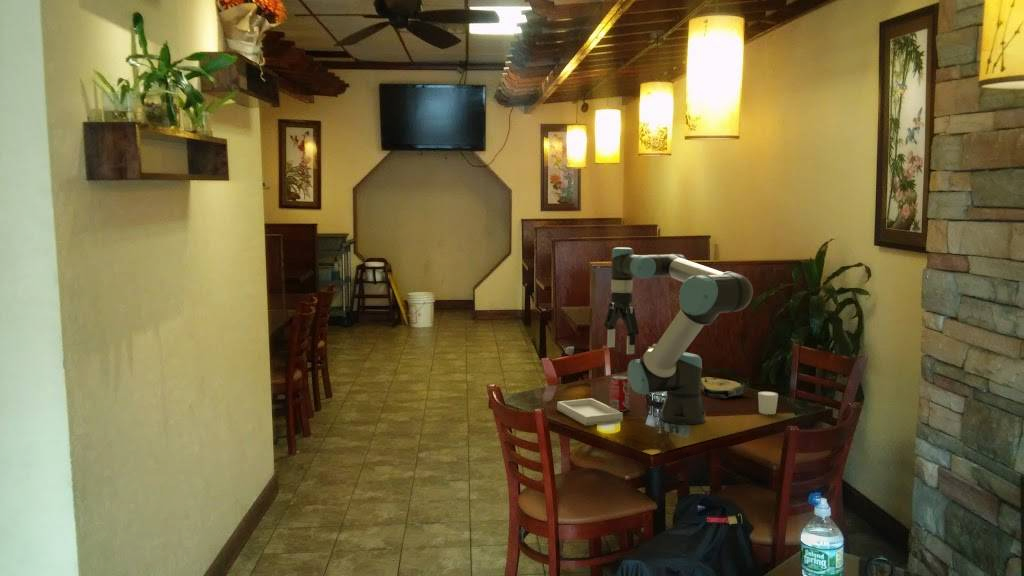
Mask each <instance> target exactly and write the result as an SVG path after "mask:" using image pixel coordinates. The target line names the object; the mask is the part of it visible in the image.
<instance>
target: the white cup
mask: <svg viewBox="0 0 1024 576" xmlns="http://www.w3.org/2000/svg"><path fill="white" fill-rule="evenodd" d="M757 397H758V413H759V414H761V415H768V414H769V415H771V414H772V415H775V414H776V413H777V412H776V411H777V407H778V399H779V394H778V392H774V391H767V390H765V391H758V392H757ZM769 415H768V416H769Z"/></svg>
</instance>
